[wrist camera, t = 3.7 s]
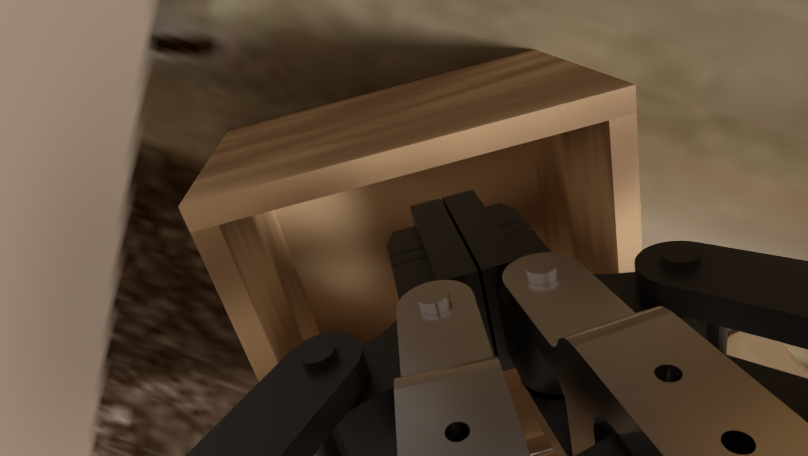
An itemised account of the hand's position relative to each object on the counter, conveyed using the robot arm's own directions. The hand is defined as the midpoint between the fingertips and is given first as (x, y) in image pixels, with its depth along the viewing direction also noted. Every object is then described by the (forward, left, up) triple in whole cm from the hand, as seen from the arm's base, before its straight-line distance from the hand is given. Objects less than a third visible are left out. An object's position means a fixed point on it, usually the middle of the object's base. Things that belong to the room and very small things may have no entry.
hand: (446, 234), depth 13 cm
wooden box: (+8, 0, -16) cm, 18 cm away
